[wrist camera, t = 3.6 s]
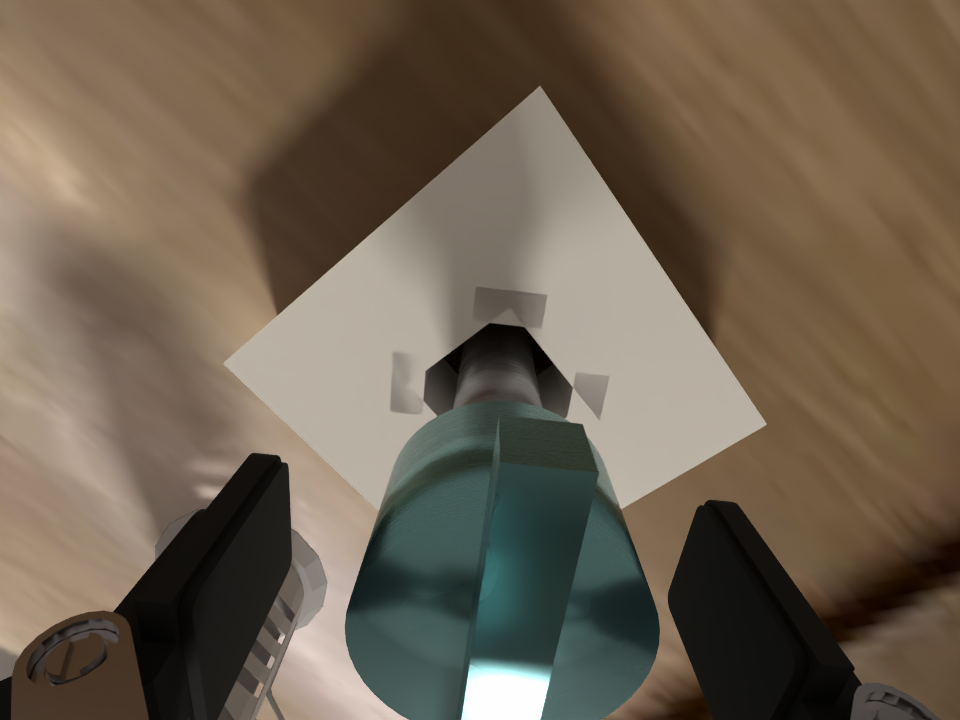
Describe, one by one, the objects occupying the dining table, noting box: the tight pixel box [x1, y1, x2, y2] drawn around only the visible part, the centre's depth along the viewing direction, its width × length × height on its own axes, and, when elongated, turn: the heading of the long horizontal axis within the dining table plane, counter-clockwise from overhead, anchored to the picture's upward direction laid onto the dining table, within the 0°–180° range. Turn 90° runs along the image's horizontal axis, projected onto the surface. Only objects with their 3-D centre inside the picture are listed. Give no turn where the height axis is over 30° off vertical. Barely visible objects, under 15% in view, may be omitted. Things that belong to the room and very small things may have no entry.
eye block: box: [223, 86, 767, 511], centre depth 20 cm, size 14×14×5 cm
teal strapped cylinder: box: [345, 323, 660, 720], centre depth 15 cm, size 9×6×16 cm, turn 174°
